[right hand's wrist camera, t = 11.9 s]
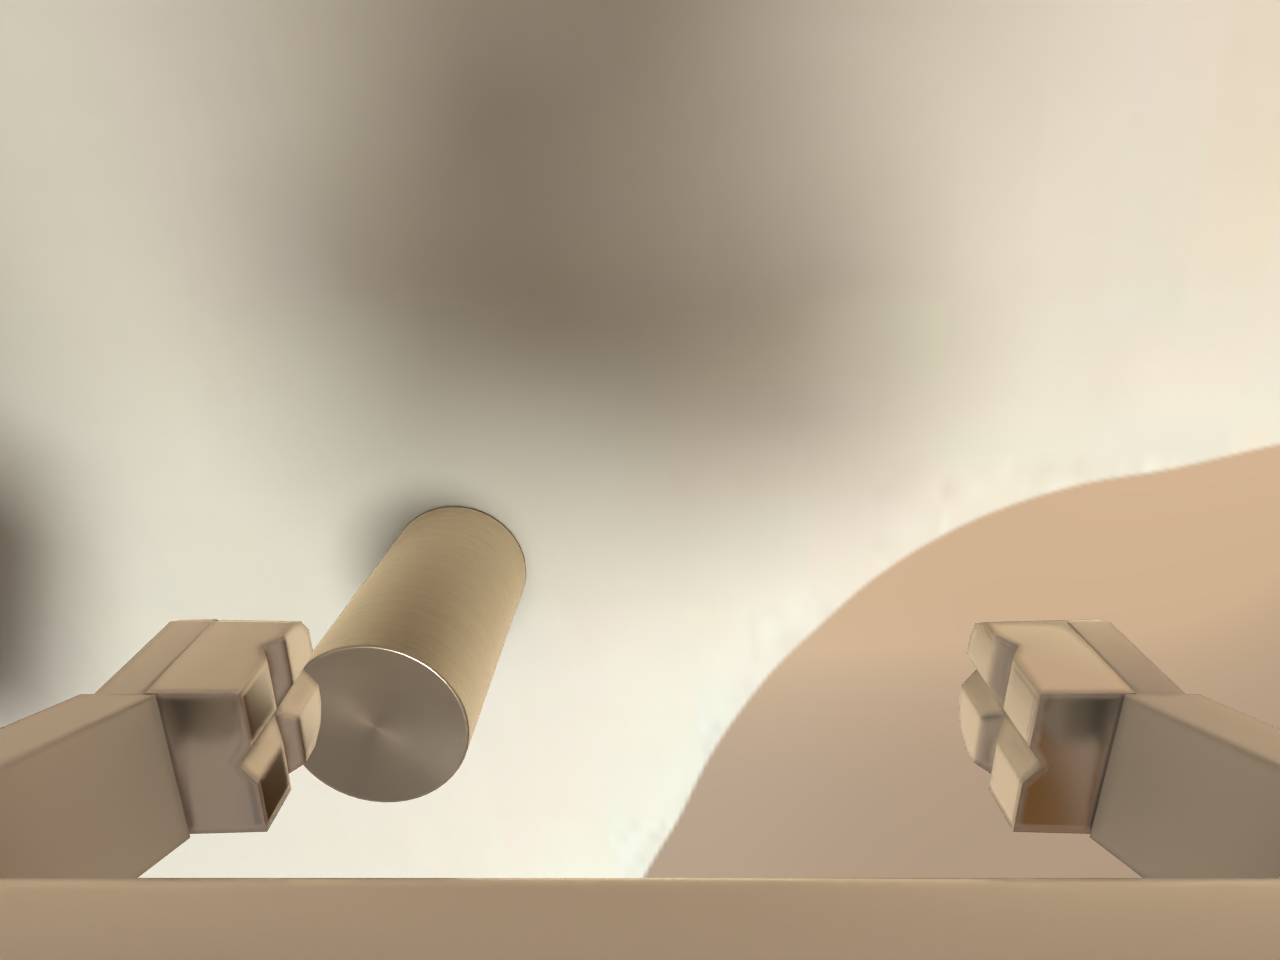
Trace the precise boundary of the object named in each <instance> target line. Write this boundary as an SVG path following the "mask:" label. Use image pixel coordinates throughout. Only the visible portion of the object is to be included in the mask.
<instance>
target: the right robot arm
mask: <svg viewBox="0 0 1280 960" xmlns="http://www.w3.org/2000/svg"><path fill="white" fill-rule="evenodd" d="M312 655H313V649H312V644H311V639H310V634H309V630H308V628H307V627H306V626H305V625H304V624H303V623H302V622H301V621H251V620H220V621H219V620H217V619H201V620H178V621H171V622H170V623H168V624H167V625H166V626H165V627H164V628H163V629H162V630H161V631H160V632H159V633H158V634H157V635H156V636H155V637H154V638H153V639H152V640H151V641H150V642H148V643H147V644H146V645H145V646H144V647H143V648H142V649H141V650H140V651H139V652H138V653H137V654H136V655H135V656H134V657H133V658H132V659H131V660H130V661H128V662H127V663H126V664H125V665H124V666H123V667H122V668H121V669H120V670H119V671H118V672H117V673H116V674H115V675H114V676H113V677H112V678H111V679H110V680H108V681H107V682H106V683H105V684H104V685H103V686H102V687H101V688H100V689H99V690H98V691H97V692H96V693H95V694H84V695H78V696H75V697H73V698H71V699H68V700H66V701H64V702H61V703H59V704H56V705H54V706H52V707H49V708H47V709H45V710H42V711H40V712H38V713H35V714H33V715H31V716H28V717H26V718H23V719H21V720H19V721H16V722H14V723H12V724H9V725H7V726H5V727H2V728H0V960H1280V728H1278V727H1275V726H1273V725H1271V724H1268V723H1266V722H1263V721H1261V720H1259V719H1256V718H1254V717H1252V716H1249V715H1247V714H1245V713H1242V712H1240V711H1238V710H1235V709H1233V708H1231V707H1228V706H1226V705H1223V704H1221V703H1219V702H1216V701H1214V700H1212V699H1209V698H1207V697H1205V696H1202V695H1196V694H1185V693H1184V692H1183V691H1182V690H1181V689H1180V688H1179V687H1178V686H1177V685H1176V684H1175V683H1174V682H1173V681H1172V680H1171V679H1170V678H1168V677H1167V676H1166V675H1165V674H1164V673H1163V672H1162V671H1161V670H1160V669H1159V668H1158V667H1157V666H1156V665H1155V664H1154V663H1153V662H1152V661H1151V660H1150V659H1149V658H1147V657H1146V656H1145V655H1144V654H1143V653H1142V652H1141V651H1140V650H1139V649H1138V648H1137V647H1136V646H1135V645H1134V644H1133V643H1132V642H1131V641H1130V640H1129V639H1128V638H1127V637H1125V636H1124V635H1123V634H1122V633H1121V632H1120V631H1119V630H1118V629H1117V628H1116V627H1115V626H1114V625H1113V624H1112V623H1110V622H1107V621H1104V620H1101V619H1086V620H1051V621H1009V622H982V623H975V625H974V627H973V629H972V632H971V634H970V637H969V643H968V648H967V655H968V656H969V658H970V659H971V661H972V663H973V664H974V666H975V667H976V670H975V671H974V672H973V674H971V676H970V677H969V678H968V679H967V680H966V681H965V682H964V683H963V684H962V685H961V693H960V701H959V719H960V730H961V734H962V737H963V740H964V743H965V747H966V749H967V751H968V753H969V754H970V756H971V758H972V760H973V762H974V763H975V764H977V765H978V766H980V767H982V768H983V769H985V770H986V771H988V772H989V773H991V779H990V785H989V791H990V792H991V794H992V796H993V797H994V799H995V801H996V803H997V804H998V806H999V808H1000V810H1001V811H1002V813H1003V815H1004V817H1005V818H1006V820H1007V822H1008V824H1009V825H1010V827H1011V829H1012V831H1013V832H1044V833H1080V834H1090V838H1092V839H1093V840H1094V841H1096V842H1097V843H1098V844H1099V845H1101V846H1102V847H1103V848H1105V849H1106V850H1107V851H1109V852H1110V853H1111V854H1112V855H1114V856H1115V857H1116V858H1118V859H1119V860H1120V861H1122V862H1123V863H1124V864H1126V865H1127V866H1128V867H1129V868H1131V869H1132V870H1134V871H1135V872H1136V873H1137V874H1139V875H1140V876H1141V877H1142V878H138V877H139V876H140V875H142V874H143V873H144V872H146V871H147V870H148V869H150V868H151V867H152V866H153V865H155V864H156V863H157V862H159V861H160V860H161V859H163V858H164V857H165V856H167V855H168V854H169V853H170V852H172V851H173V850H174V849H176V848H177V847H178V846H180V845H181V844H182V843H184V842H185V841H186V840H187V839H189V838H190V835H189V834H200V833H235V832H267V831H268V829H269V827H270V826H271V824H272V822H273V820H274V819H275V817H276V815H277V813H278V812H279V810H280V808H281V806H282V805H283V803H284V801H285V799H286V798H287V796H288V794H289V792H290V791H291V785H290V779H289V773H291V772H292V771H294V770H295V769H297V768H298V767H300V766H302V765H303V764H305V763H306V762H307V760H308V758H309V756H310V754H311V753H312V751H313V749H314V747H315V745H316V740H317V736H318V732H319V728H320V723H321V698H320V691H319V685H318V684H317V683H316V682H315V681H314V680H313V679H312V678H311V677H310V676H309V674H308V673H307V672H306V671H305V670H304V667H305V666H306V664H307V663H308V661H309V660H310V658H311V656H312Z"/></svg>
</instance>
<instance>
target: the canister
mask: <svg viewBox="0 0 1280 960" xmlns="http://www.w3.org/2000/svg"><path fill="white" fill-rule="evenodd" d="M525 576H526V569H525V561H524V557H523V554H522V551H521V549H520V547H519V545H518V543H517V541H516V540H515V538H514V537H513V536H512V534H511V533H510V532H509V531H508V530H507V529H506V528H505V527H504V526H503V525H502V524H501V523H499V522H498V521H497V520H495V519H494V518H492V517H491V516H489V515H486V514H484V513H482V512H479V511H477V510H474V509H469V508H463V507H444V508H438V509H435V510H431V511H429V512H426V513H424V514H422V515H420V516H419V517H417V518H415V519H414V520H413V521H412V522H411V523H409V524H408V526H407V527H406V528H405V529H404V530H403V531H402V533H401V534H400V535H399V537H398V538H397V539H396V541H395V542H394V543H393V545H392V546H391V547H390V549H389V550H388V551H387V553H386V554H385V555H384V557H383V558H382V559H381V561H380V562H379V563H378V565H377V566H376V567H375V569H374V570H373V571H372V573H371V574H370V575H369V577H368V578H367V579H366V581H365V582H364V583H363V585H362V586H361V587H360V589H359V590H358V591H357V593H356V594H355V595H354V597H353V598H352V599H351V601H350V602H349V603H348V605H347V606H346V607H345V609H344V610H343V612H342V613H341V614H340V616H339V617H338V618H337V620H336V621H335V622H334V624H333V625H332V626H331V628H330V629H329V630H328V632H327V633H326V634H325V636H324V637H323V638H322V640H321V641H320V642H319V644H318V645H317V646H316V648H315V649H314V650H313V655H312V656H311V658H310V660H309V661H308V663H307V664H306V666H305V667H304V670H305V671H306V672H307V673H308V674H309V676H310V677H311V678H312V679H313V680H314V681H315V682H316V683H317V684H318V685H319V691H320V698H321V723H320V728H319V732H318V736H317V740H316V745H315V747H314V749H313V751H312V753H311V754H310V756H309V758H308V760H307V762H306V763H305V764H303V765H304V766H305V767H306V768H307V769H308V771H310V772H311V773H312V774H313V775H314V776H315V777H316V778H318V779H319V780H321V781H322V782H323V783H325V784H326V785H328V786H330V787H332V788H333V789H335V790H337V791H339V792H342V793H344V794H346V795H349V796H352V797H355V798H359V799H363V800H368V801H375V802H399V801H407V800H411V799H415V798H418V797H421V796H423V795H426V794H428V793H430V792H432V791H434V790H436V789H437V788H439V787H440V786H442V785H443V784H444V783H446V782H447V781H448V780H449V779H450V778H451V777H452V776H453V775H454V774H455V772H456V771H457V770H458V769H459V767H460V765H461V764H462V762H463V760H464V758H465V755H466V752H467V749H468V747H469V744H470V741H471V738H472V735H473V732H474V729H475V726H476V723H477V720H478V718H479V715H480V712H481V709H482V706H483V703H484V700H485V697H486V694H487V692H488V689H489V686H490V683H491V680H492V677H493V674H494V671H495V668H496V666H497V663H498V660H499V657H500V654H501V651H502V648H503V645H504V642H505V640H506V637H507V634H508V631H509V628H510V625H511V622H512V619H513V616H514V613H515V611H516V608H517V605H518V602H519V599H520V596H521V593H522V590H523V587H524V583H525Z"/></svg>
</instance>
